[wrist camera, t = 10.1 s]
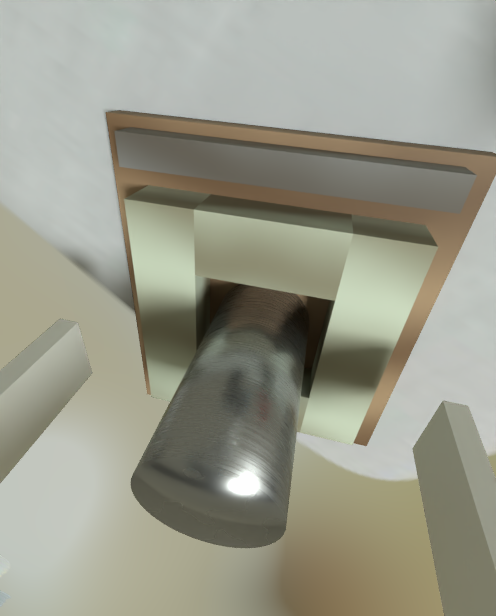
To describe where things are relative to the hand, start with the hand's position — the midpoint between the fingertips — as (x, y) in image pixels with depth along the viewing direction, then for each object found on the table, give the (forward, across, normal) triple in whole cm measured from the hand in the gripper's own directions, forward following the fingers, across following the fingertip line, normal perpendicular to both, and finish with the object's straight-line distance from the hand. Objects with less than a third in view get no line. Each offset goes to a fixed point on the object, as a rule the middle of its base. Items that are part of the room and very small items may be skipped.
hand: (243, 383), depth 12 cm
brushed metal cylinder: (+5, 0, 0) cm, 5 cm away
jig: (+6, 0, 0) cm, 6 cm away
